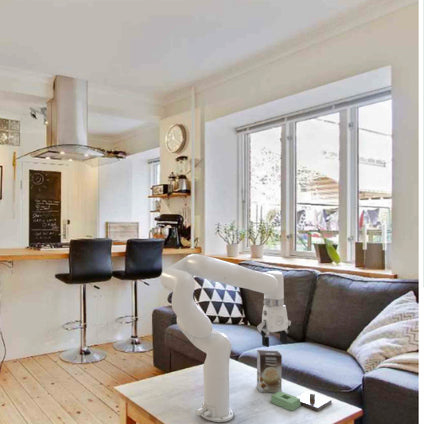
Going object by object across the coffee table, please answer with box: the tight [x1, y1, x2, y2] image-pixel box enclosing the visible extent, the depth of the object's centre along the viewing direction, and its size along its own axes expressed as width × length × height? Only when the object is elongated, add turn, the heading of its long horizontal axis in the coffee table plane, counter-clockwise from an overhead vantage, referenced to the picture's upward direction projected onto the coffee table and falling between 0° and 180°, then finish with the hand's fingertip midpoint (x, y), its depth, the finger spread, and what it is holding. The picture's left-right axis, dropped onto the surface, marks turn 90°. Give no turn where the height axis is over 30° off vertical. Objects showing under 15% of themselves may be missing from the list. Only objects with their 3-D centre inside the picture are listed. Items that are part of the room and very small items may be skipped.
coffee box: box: [256, 349, 283, 394], centre depth 182 cm, size 9×6×16 cm
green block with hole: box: [270, 391, 302, 411], centre depth 168 cm, size 6×9×3 cm
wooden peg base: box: [296, 391, 332, 412], centre depth 169 cm, size 11×10×4 cm
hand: (274, 344), depth 170 cm, fingers open, 9 cm apart
